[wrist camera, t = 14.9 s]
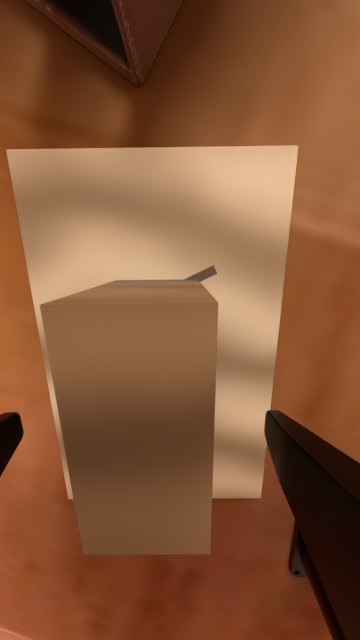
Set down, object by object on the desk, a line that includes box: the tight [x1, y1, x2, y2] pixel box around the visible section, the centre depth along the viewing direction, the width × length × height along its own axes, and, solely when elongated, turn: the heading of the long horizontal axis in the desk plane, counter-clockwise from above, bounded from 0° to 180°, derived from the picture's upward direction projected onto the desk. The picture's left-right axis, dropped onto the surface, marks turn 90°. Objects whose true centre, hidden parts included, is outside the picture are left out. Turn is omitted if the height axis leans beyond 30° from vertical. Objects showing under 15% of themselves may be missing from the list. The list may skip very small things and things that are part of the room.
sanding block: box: [40, 279, 218, 555], centre depth 10 cm, size 9×4×7 cm, turn 1°
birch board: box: [6, 146, 298, 499], centre depth 14 cm, size 22×14×2 cm, turn 1°
